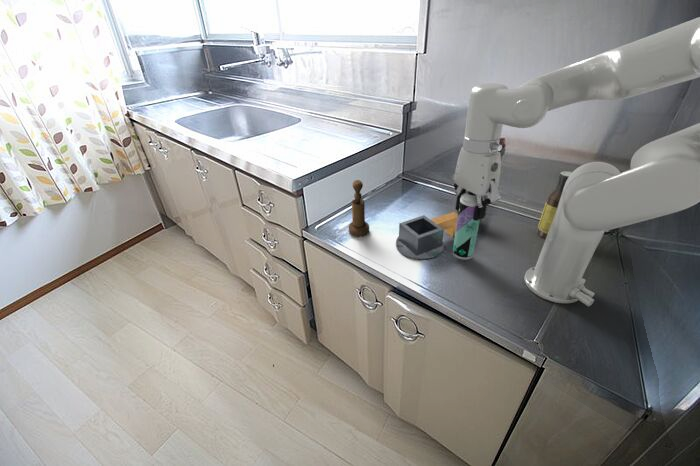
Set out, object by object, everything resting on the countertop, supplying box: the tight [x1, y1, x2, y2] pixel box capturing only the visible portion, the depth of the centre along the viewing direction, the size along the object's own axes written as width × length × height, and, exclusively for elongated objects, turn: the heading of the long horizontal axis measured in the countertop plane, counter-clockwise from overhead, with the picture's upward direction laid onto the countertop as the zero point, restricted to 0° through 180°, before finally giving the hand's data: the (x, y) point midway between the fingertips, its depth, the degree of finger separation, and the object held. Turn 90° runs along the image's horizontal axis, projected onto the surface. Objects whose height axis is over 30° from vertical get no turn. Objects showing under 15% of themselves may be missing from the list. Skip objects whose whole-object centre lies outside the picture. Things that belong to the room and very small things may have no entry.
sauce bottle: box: [536, 170, 573, 239], centre depth 92 cm, size 6×6×20 cm
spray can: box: [452, 191, 484, 260], centre depth 83 cm, size 6×6×20 cm
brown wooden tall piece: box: [348, 179, 370, 238], centre depth 98 cm, size 7×6×18 cm
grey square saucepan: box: [395, 211, 458, 261], centre depth 94 cm, size 14×20×7 cm
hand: (469, 213), depth 81 cm, fingers closed on spray can, 5 cm apart
